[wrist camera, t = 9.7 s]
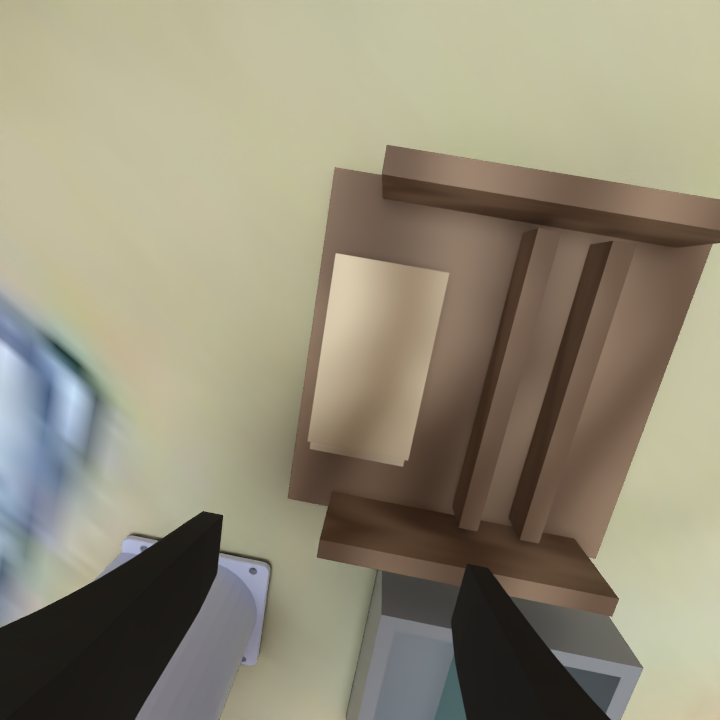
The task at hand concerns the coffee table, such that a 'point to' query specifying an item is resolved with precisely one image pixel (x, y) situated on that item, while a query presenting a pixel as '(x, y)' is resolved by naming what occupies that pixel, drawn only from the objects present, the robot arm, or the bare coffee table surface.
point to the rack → (508, 367)
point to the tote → (435, 650)
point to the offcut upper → (375, 355)
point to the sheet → (451, 698)
